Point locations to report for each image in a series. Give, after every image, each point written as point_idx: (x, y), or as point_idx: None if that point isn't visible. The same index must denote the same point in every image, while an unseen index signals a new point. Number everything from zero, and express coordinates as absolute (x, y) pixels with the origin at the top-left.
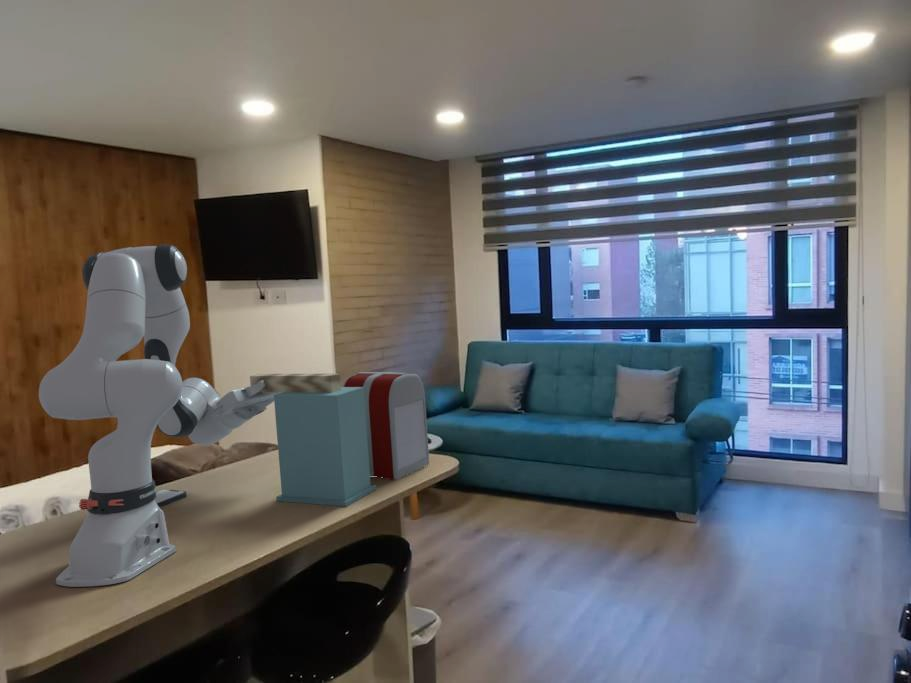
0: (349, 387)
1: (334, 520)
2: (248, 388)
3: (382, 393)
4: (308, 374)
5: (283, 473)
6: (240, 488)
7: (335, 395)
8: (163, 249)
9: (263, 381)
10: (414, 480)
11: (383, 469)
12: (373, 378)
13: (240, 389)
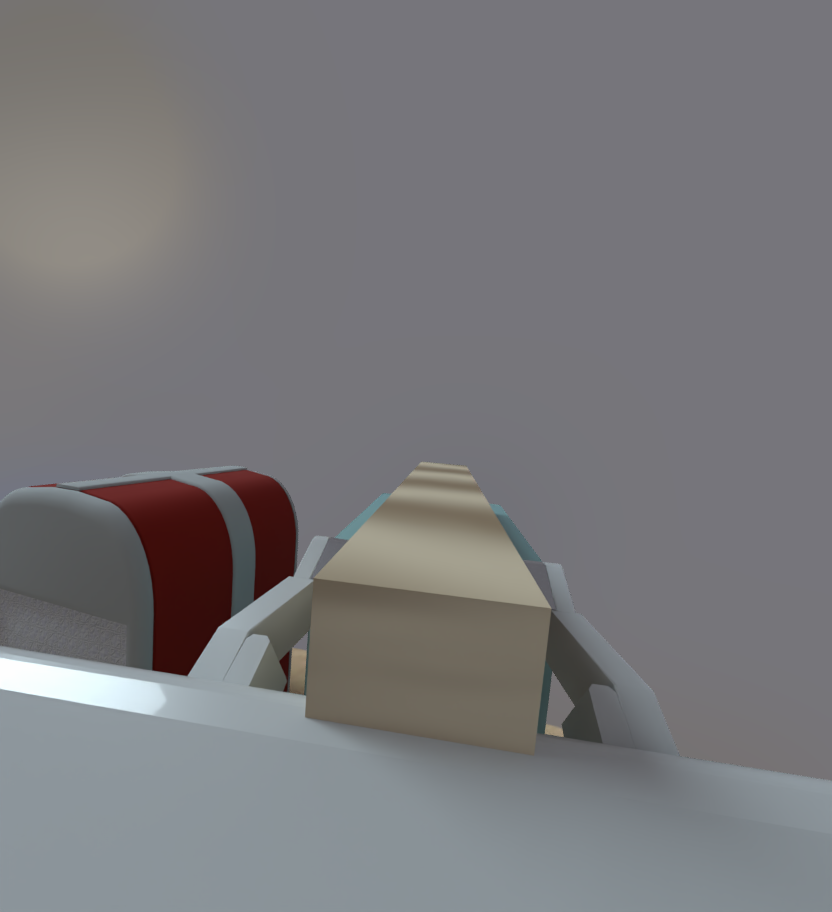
0: (380, 501)
1: (560, 731)
2: (652, 706)
3: (281, 515)
4: (434, 474)
5: None
6: None
7: (500, 506)
8: None
9: (535, 564)
10: (305, 666)
11: None
12: (228, 486)
13: (792, 775)
